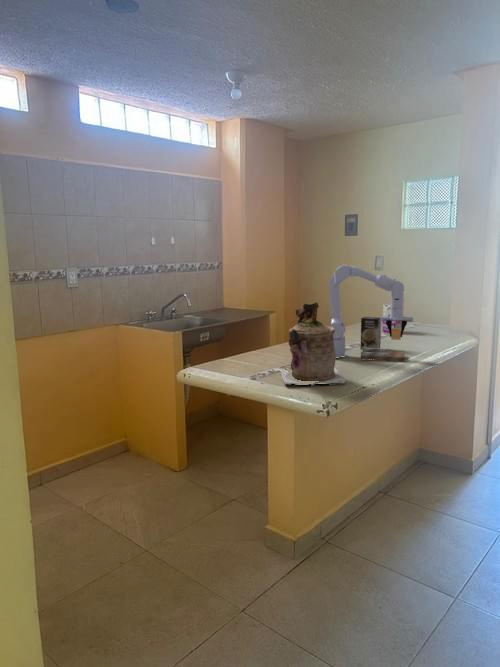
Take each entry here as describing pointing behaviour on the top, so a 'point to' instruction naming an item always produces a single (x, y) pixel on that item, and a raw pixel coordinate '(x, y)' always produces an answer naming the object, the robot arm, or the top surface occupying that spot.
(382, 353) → the trap channel
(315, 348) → the cookie jar
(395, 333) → the block
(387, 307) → the candy bar box
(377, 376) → the top surface
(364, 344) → the coffee box
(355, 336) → the top surface
